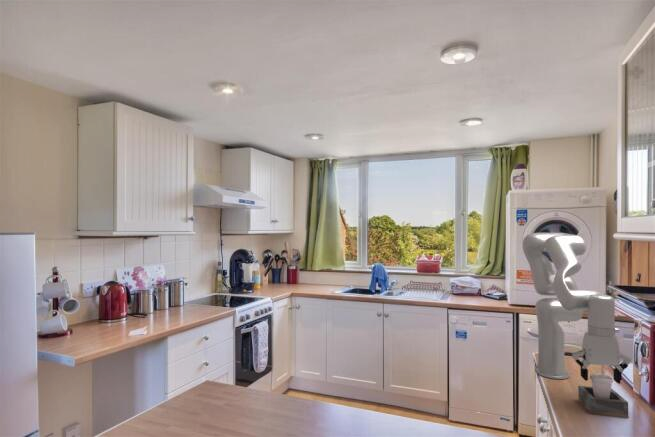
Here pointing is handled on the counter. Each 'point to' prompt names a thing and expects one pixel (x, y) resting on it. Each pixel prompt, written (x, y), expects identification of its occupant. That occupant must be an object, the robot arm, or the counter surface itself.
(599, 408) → the frame
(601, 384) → the smoothie
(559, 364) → the robot arm
